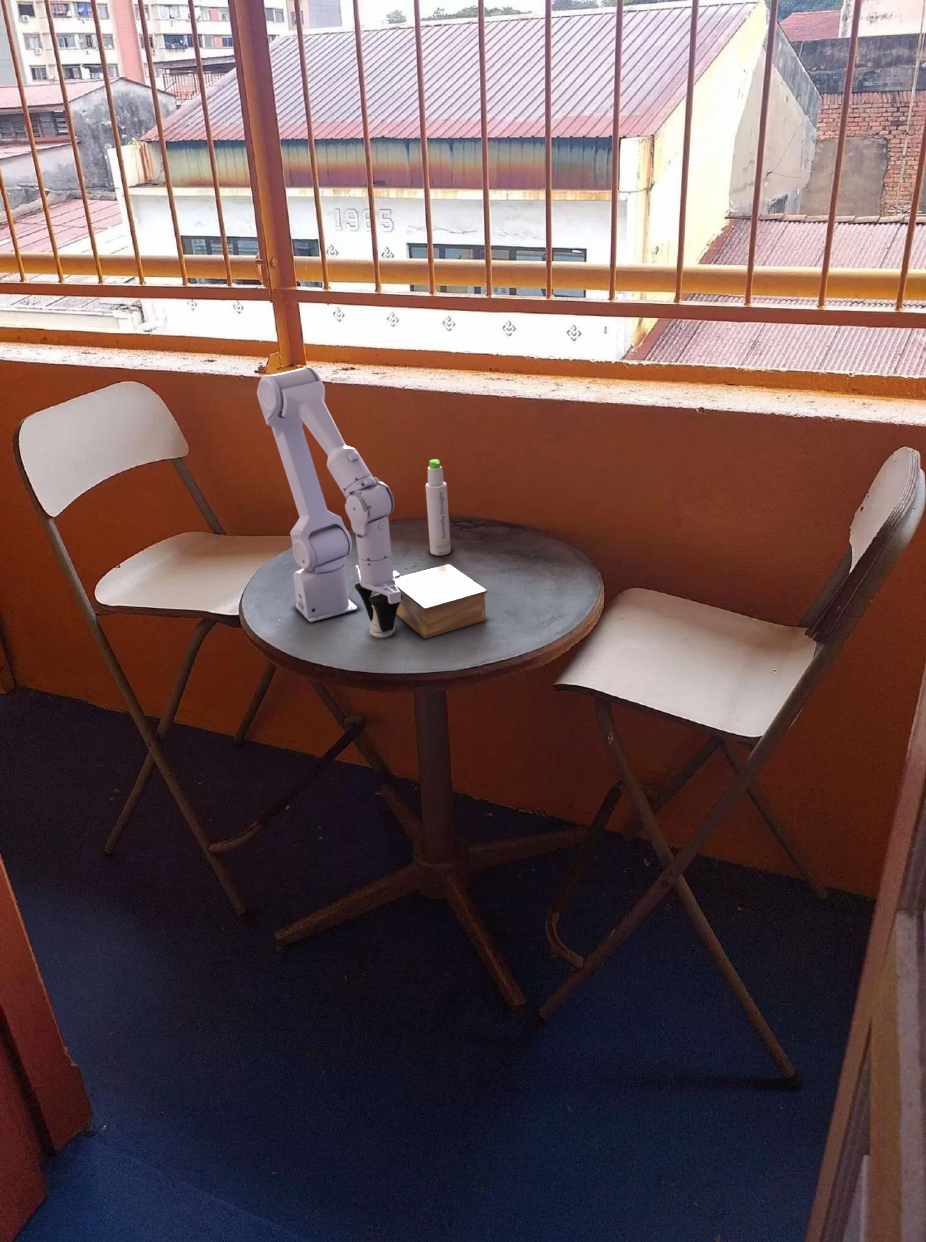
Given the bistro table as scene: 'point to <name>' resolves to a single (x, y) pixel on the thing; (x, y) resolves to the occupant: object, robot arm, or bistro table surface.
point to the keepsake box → (442, 615)
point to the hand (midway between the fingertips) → (381, 625)
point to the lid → (438, 587)
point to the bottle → (437, 510)
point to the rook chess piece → (375, 624)
